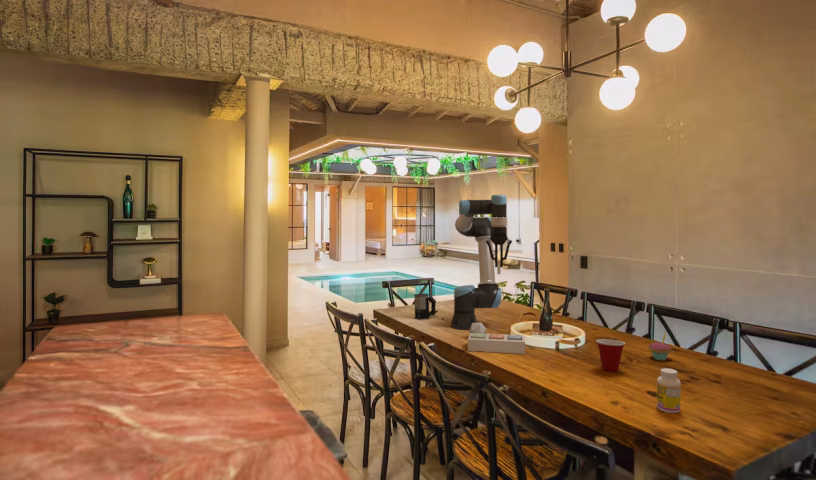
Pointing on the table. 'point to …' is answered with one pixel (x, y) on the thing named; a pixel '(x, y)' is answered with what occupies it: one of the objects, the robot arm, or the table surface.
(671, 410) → the supplement bottle
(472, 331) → the die
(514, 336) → the slate tile
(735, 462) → the table surface
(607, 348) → the plastic cup
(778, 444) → the table surface
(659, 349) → the cupcake
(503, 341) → the keypad housing
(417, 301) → the milk frother
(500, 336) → the terracotta tile
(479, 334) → the sage tile
